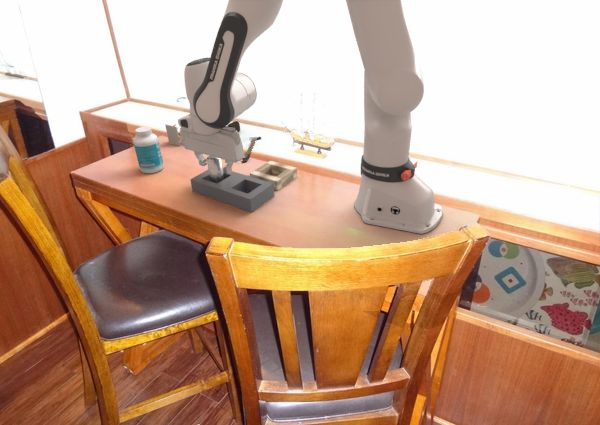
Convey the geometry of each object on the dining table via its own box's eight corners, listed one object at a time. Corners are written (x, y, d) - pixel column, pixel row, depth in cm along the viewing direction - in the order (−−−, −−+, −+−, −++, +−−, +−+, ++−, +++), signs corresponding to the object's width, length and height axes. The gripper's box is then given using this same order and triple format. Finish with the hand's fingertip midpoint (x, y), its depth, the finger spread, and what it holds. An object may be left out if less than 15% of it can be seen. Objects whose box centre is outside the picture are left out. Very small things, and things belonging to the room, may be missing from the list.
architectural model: (175, 140, 159) (172, 121, 155) (189, 144, 156) (186, 124, 152) (168, 144, 157) (164, 124, 153) (182, 147, 154) (178, 127, 150)
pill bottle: (167, 170, 138) (158, 130, 131) (144, 176, 135) (133, 135, 128) (160, 162, 143) (151, 122, 136) (137, 167, 140) (127, 128, 133)
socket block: (297, 176, 132) (296, 167, 130) (277, 190, 125) (277, 181, 123) (270, 169, 136) (270, 160, 135) (250, 182, 129) (249, 173, 128)
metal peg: (228, 187, 127) (224, 156, 122) (219, 193, 124) (214, 161, 119) (218, 184, 129) (213, 153, 124) (208, 190, 126) (203, 158, 121)
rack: (274, 196, 122) (273, 183, 120) (251, 212, 115) (250, 199, 113) (216, 177, 133) (214, 165, 131) (192, 191, 126) (190, 179, 124)
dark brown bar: (213, 151, 150) (211, 138, 148) (204, 149, 152) (202, 136, 149) (246, 132, 164) (245, 120, 161) (237, 130, 166) (236, 119, 163)
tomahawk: (244, 140, 160) (243, 137, 159) (261, 139, 159) (261, 136, 158) (229, 164, 142) (228, 161, 141) (248, 163, 141) (248, 160, 140)
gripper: (246, 125, 113) (251, 172, 120) (190, 112, 123) (197, 157, 130) (230, 133, 108) (236, 182, 116) (173, 119, 118) (182, 165, 126)
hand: (215, 168), depth 123 cm, fingers open, 8 cm apart
